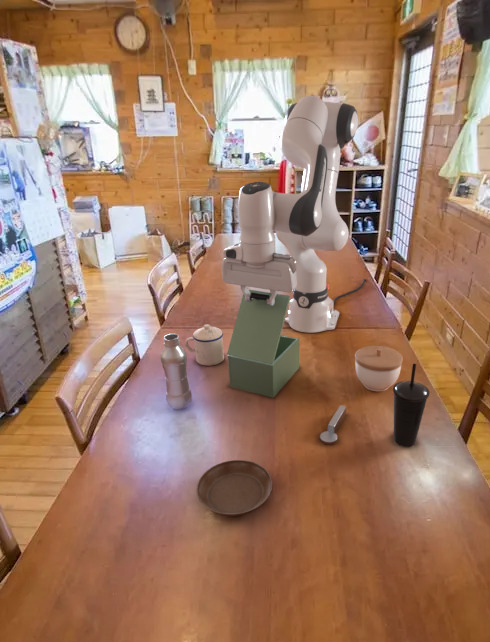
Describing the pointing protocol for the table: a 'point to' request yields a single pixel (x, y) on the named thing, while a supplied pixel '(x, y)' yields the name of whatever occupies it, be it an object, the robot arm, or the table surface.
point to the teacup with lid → (207, 345)
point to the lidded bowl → (378, 367)
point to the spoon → (333, 427)
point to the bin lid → (258, 327)
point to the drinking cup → (408, 409)
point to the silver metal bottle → (175, 373)
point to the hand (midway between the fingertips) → (259, 302)
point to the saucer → (234, 487)
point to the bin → (266, 369)
